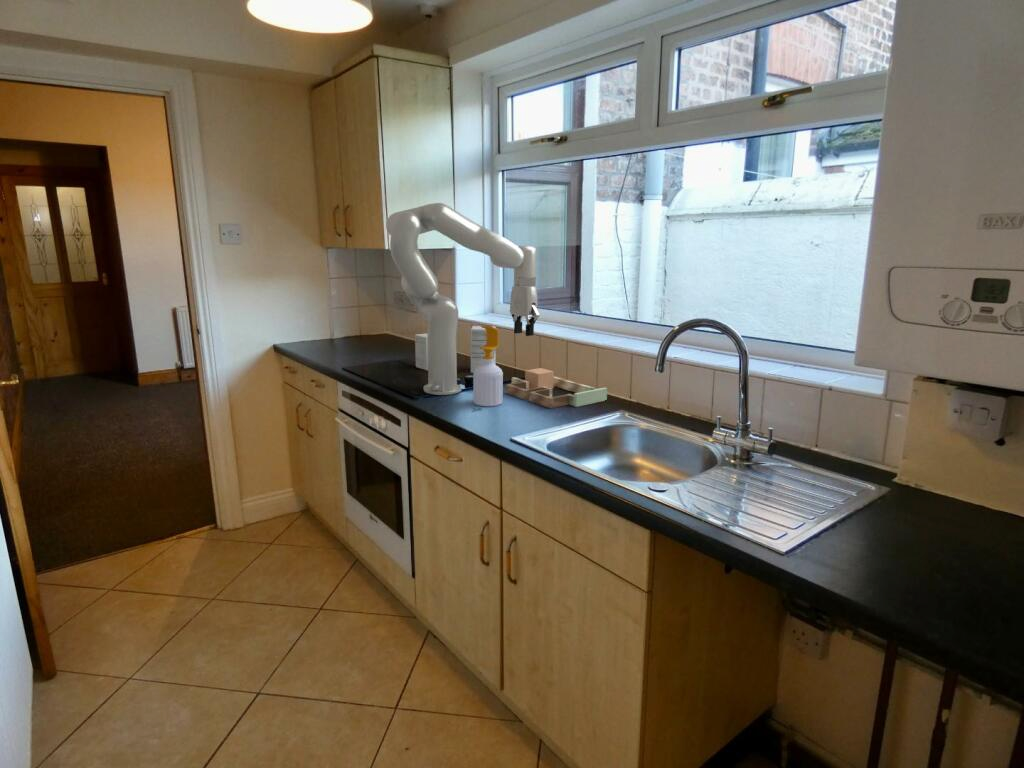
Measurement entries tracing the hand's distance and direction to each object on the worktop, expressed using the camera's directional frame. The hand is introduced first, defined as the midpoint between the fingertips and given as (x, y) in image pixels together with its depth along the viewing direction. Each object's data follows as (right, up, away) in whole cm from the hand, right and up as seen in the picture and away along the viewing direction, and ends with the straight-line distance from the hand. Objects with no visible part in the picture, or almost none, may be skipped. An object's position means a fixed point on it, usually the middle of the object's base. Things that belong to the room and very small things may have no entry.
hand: (523, 333), depth 220 cm
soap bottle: (-12, -24, -23) cm, 35 cm away
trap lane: (+8, -21, -12) cm, 25 cm away
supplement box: (-15, -13, +22) cm, 30 cm away
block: (+5, -19, -3) cm, 20 cm away
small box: (-37, -11, +26) cm, 47 cm away
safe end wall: (+21, -24, -22) cm, 38 cm away
